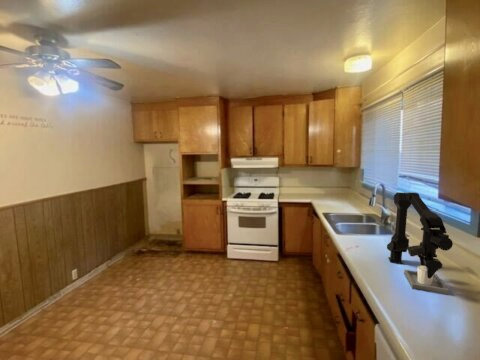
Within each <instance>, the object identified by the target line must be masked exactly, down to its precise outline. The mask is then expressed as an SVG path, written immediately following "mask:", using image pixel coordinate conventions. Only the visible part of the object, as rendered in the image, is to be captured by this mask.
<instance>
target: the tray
mask: <svg viewBox="0 0 480 360" xmlns="http://www.w3.org/2000/svg"><path fill="white" fill-rule="evenodd" d="M403 271H404V272H403V274H404V276H405V278H406V280H407V282H408V283H409V285H410V288H411V289H412V290H418V291H422V292H429V293H435V294H440V295H441V294H442V295H449V292H450V289H448V287H447V286H446V284H445V283H444V282H443V281H442V279H441V278H440V277H439V275H438V274H436V273H435V274H434V276H433V281H432V284H431V285H424V284H421V283H419V282H418V270H417V271H416V270H410V269H404V270H403Z"/></svg>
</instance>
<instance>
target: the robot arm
mask: <svg viewBox="0 0 480 360" xmlns="http://www.w3.org/2000/svg"><path fill="white" fill-rule="evenodd" d="M393 203H394V205H395V207H396V216H395V217H396V218H395V228H394V230H395V231H394V234H393V235H392V236H391V239H390V242H388V244H386V249H387V250H388V251H389V252H390V253H389V254H390V255H389V256H388V258H387V259H388V260H389V262H390V263H393V264H394V263H395V264H400V265H403V264H404V262H403V260H402V259H403V253H408V254H409V256H410V257H415V256H417V257H418V258H419V262H420V265H422V266H426V267H427V278H431V277H432V276H433V275H434V274H436V272H438V271H439V270H440V269H442V268H443V262H442V261H440V259H438V255H437V250H438V249H440V250H442V251H445V252H446V251H449V250H450V249H452V247H453V241H452V239H451V238H449V237H450V235H449V234H447V230H446V227H445V224H444V221H443V220H442V218H441V216H439V215H438V214H437V213H435V212H433V211H431V209H430V208H429V207H428V206H427V205H426V203H425V202H424V201H423V200H422V198H421V197H420V194H419V193H418V192H398V191H397V192H396V193H395V194H394V195H393ZM411 205H412V207H413V208H414V209H415V211H416V213H417V214H418V215H419V222H420V223H421V226H422V227H421V228H420V230H421V231H422V238H421V239H422V241H420V242H419V244H418V245H412V246H410V239H409V238H408V237H407V235H406V230H407V218H408V209H410V207H411Z"/></svg>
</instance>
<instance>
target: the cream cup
mask: <svg viewBox="0 0 480 360" xmlns="http://www.w3.org/2000/svg"><path fill="white" fill-rule="evenodd" d="M417 272H418V282H419V283H421V284H424V285H431V284H432V281H433V276H434V275H433V276H432V277H431V278H427V267H426V266H422V265H421V264H419V265H417Z"/></svg>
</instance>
